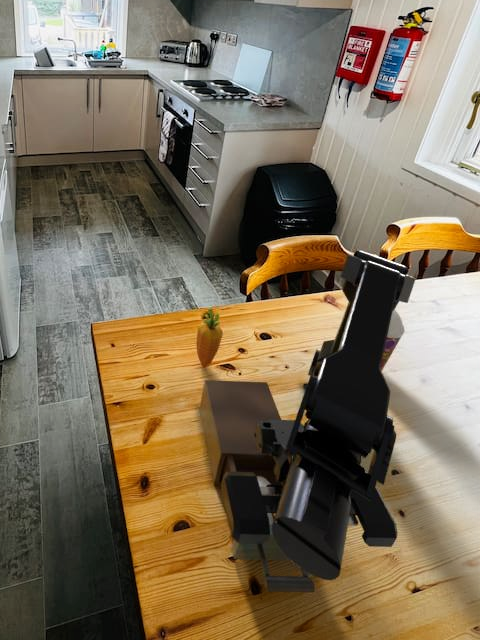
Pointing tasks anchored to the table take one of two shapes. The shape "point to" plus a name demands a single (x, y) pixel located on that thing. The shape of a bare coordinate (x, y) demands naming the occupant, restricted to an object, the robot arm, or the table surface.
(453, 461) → the table surface
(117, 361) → the table surface
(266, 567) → the drawer
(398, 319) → the smoothie
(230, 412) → the cabinet
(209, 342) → the carrot
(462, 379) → the table surface
